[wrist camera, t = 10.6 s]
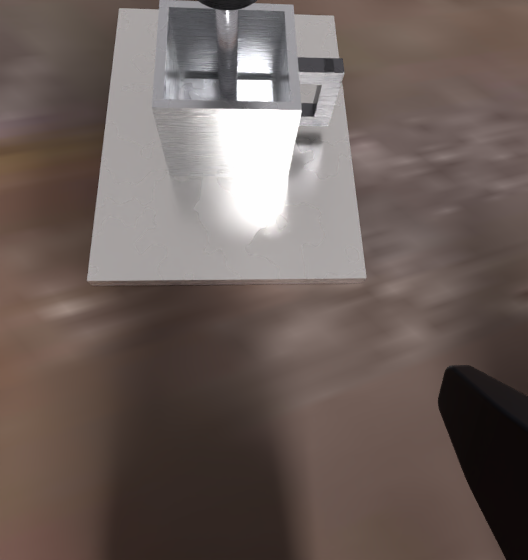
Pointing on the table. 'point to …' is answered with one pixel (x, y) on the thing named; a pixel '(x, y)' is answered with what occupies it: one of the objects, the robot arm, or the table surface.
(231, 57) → the plunger
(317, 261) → the white socket holder tray
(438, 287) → the table surface
